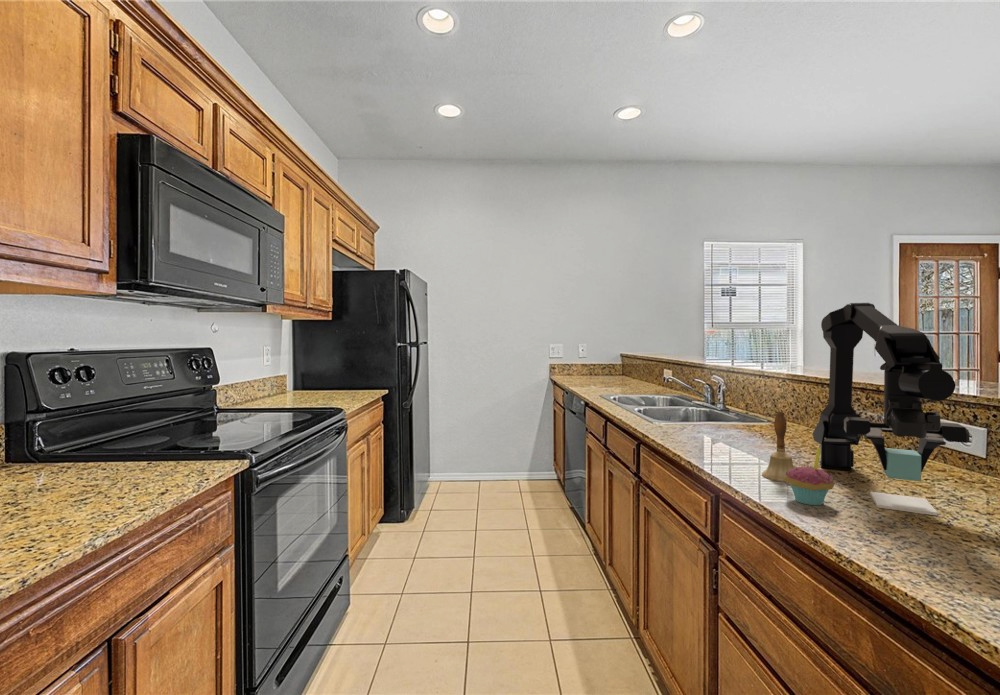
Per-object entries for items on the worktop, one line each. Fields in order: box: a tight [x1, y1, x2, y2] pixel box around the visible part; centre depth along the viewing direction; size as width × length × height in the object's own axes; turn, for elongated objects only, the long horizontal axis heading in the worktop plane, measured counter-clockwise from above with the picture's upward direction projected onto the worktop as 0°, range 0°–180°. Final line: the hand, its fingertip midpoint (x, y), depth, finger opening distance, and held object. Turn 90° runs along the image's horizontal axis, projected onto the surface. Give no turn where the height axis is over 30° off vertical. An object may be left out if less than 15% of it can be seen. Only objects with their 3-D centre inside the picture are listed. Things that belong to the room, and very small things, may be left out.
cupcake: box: [784, 443, 835, 506], centre depth 98 cm, size 9×8×12 cm
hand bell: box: [761, 410, 795, 483], centre depth 115 cm, size 8×8×16 cm
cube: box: [883, 447, 922, 482], centre depth 96 cm, size 5×5×5 cm
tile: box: [869, 491, 939, 516], centre depth 96 cm, size 9×9×1 cm
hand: (901, 471), depth 96 cm, fingers closed on cube, 5 cm apart
